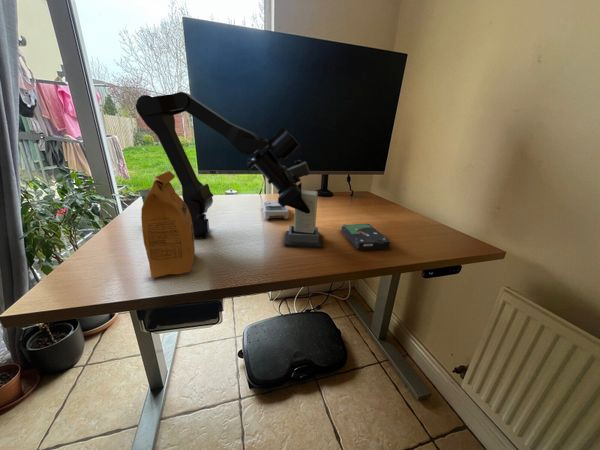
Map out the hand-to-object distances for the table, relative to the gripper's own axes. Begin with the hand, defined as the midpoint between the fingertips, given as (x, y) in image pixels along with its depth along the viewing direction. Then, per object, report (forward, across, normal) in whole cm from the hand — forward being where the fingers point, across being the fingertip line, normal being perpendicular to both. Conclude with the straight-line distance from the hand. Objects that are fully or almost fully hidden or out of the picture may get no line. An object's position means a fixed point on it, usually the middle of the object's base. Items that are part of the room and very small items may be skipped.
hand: (308, 210), depth 72 cm
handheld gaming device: (-2, +23, +16) cm, 28 cm away
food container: (-31, +18, +47) cm, 59 cm away
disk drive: (+20, +3, -6) cm, 21 cm away
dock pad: (+6, 0, +8) cm, 10 cm away
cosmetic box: (+4, 0, +6) cm, 7 cm away
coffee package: (-15, -18, +30) cm, 38 cm away
